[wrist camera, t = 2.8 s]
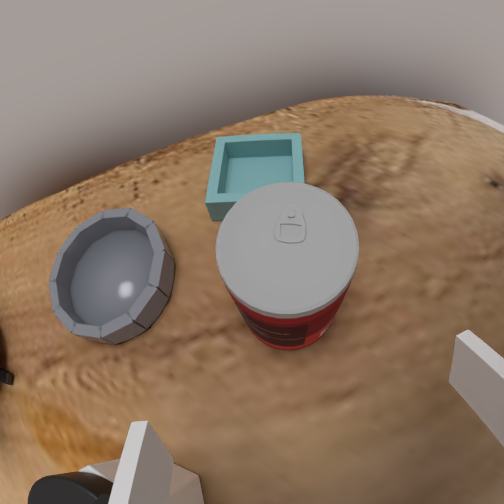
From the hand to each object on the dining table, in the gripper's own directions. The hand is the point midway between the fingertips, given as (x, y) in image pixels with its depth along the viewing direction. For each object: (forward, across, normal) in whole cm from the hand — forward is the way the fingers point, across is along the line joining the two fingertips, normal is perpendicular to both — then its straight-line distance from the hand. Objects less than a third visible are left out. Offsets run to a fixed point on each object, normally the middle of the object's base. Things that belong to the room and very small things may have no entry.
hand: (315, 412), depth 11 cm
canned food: (+15, +1, -3) cm, 15 cm away
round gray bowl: (+19, -15, +2) cm, 24 cm away
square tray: (+24, +2, +7) cm, 25 cm away
